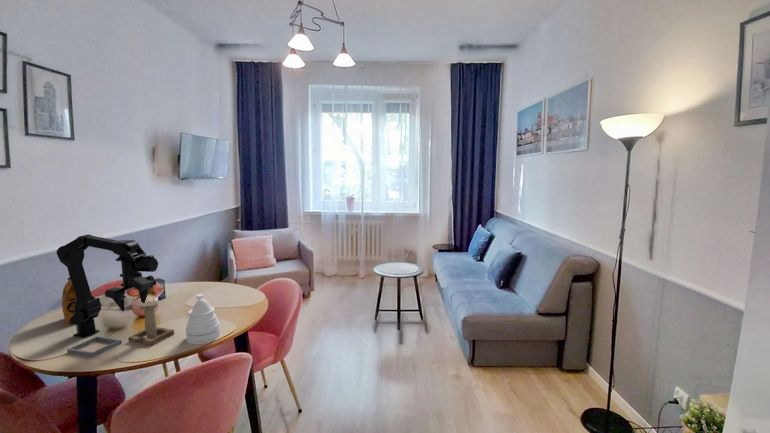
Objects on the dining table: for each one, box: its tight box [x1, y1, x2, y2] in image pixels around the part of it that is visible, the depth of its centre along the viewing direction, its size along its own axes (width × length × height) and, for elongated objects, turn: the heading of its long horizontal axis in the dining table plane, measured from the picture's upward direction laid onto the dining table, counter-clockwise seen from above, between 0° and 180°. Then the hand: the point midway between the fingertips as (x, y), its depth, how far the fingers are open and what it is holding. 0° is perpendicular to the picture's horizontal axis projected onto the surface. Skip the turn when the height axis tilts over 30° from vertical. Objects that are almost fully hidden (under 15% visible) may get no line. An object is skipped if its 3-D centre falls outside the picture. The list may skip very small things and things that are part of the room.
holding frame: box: [66, 335, 122, 358], centre depth 144 cm, size 13×12×2 cm
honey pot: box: [185, 293, 221, 345], centre depth 153 cm, size 13×13×18 cm
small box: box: [154, 278, 167, 301], centre depth 196 cm, size 11×6×10 cm, turn 148°
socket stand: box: [128, 326, 175, 347], centre depth 153 cm, size 12×11×2 cm
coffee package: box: [61, 273, 77, 325], centre depth 170 cm, size 10×12×22 cm
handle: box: [139, 301, 159, 339], centre depth 152 cm, size 5×6×15 cm
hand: (133, 306), depth 154 cm, fingers open, 9 cm apart
